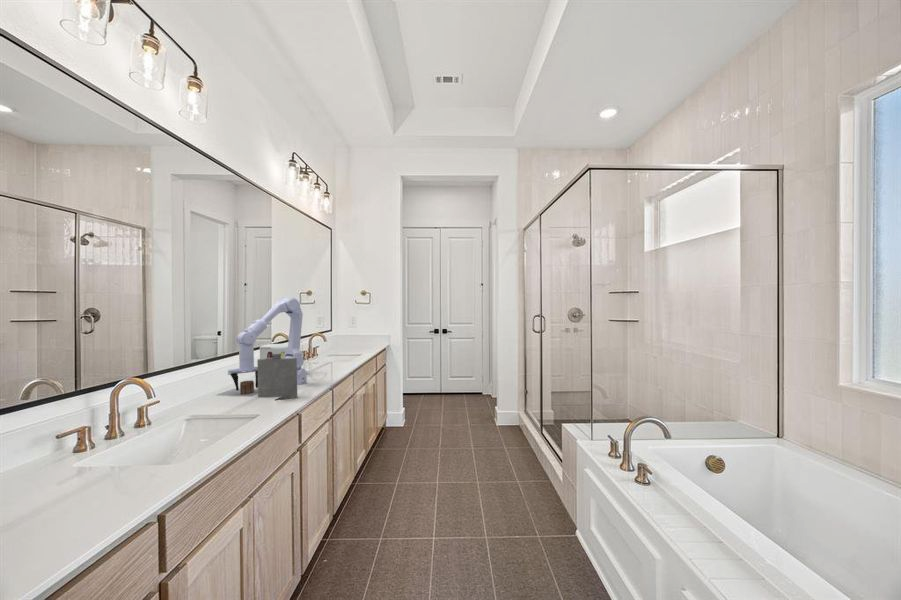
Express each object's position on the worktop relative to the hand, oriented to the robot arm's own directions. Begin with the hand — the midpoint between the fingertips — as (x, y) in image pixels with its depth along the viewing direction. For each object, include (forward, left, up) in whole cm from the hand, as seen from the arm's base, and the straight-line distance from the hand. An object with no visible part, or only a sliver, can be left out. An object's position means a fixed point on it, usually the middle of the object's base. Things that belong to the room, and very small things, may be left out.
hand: (247, 388), depth 165 cm
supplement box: (+12, -42, -4) cm, 44 cm away
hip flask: (-17, +3, -4) cm, 18 cm away
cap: (0, 0, -2) cm, 2 cm away
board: (+3, -1, -3) cm, 5 cm away
